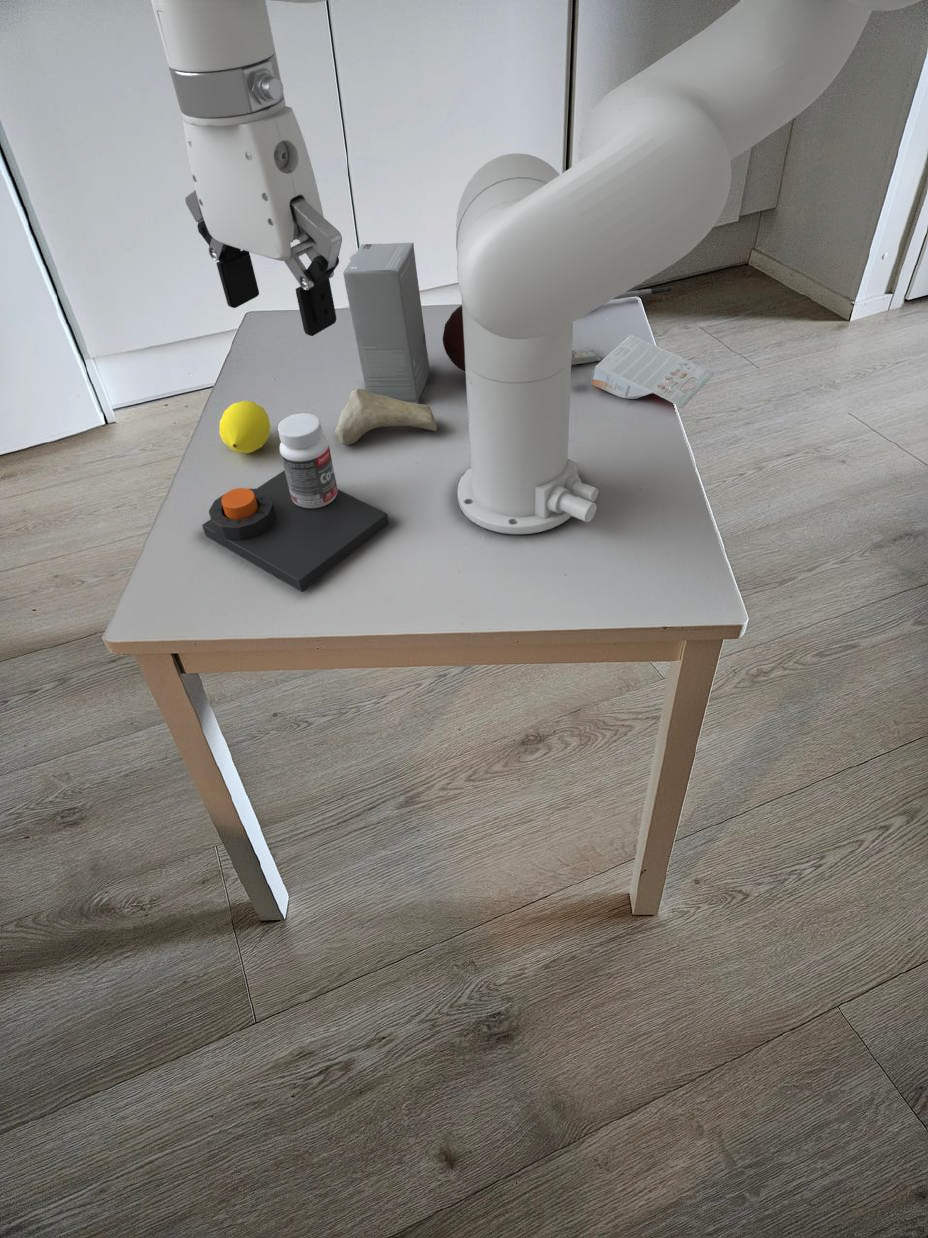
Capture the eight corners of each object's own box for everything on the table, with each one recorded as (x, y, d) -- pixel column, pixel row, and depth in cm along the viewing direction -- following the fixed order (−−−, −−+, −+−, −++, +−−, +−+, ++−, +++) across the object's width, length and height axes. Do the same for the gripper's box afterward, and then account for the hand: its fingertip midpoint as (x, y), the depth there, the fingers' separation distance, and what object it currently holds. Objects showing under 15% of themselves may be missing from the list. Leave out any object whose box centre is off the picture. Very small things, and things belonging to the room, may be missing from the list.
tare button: (264, 507, 85) (261, 495, 84) (239, 524, 83) (236, 512, 82) (243, 496, 87) (239, 483, 86) (218, 512, 85) (214, 500, 84)
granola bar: (596, 346, 107) (604, 359, 105) (594, 354, 108) (601, 367, 106) (543, 345, 106) (550, 359, 104) (541, 354, 106) (548, 368, 105)
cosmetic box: (418, 405, 102) (405, 272, 90) (359, 403, 103) (339, 270, 92) (432, 368, 108) (420, 239, 96) (376, 366, 109) (358, 238, 97)
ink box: (625, 349, 107) (707, 391, 104) (588, 383, 102) (674, 428, 99) (631, 329, 105) (716, 371, 102) (594, 362, 100) (682, 408, 97)
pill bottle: (335, 509, 86) (320, 437, 80) (288, 510, 87) (270, 439, 81) (340, 480, 90) (327, 409, 84) (295, 482, 90) (278, 411, 84)
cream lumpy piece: (338, 452, 96) (331, 414, 92) (333, 423, 100) (326, 385, 97) (438, 436, 97) (435, 398, 93) (429, 408, 101) (426, 370, 98)
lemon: (238, 429, 100) (226, 387, 96) (283, 431, 99) (273, 389, 96) (216, 465, 95) (203, 422, 92) (263, 467, 95) (251, 425, 91)
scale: (389, 524, 86) (385, 500, 84) (301, 592, 80) (295, 568, 78) (292, 476, 93) (287, 453, 91) (204, 535, 87) (196, 512, 85)
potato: (441, 360, 108) (435, 288, 102) (536, 349, 109) (536, 276, 103) (449, 396, 102) (444, 322, 96) (549, 384, 103) (551, 310, 96)
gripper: (351, 87, 60) (384, 321, 72) (194, 63, 68) (248, 276, 81) (271, 118, 56) (320, 360, 68) (115, 88, 65) (184, 308, 77)
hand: (281, 314), depth 75 cm, fingers open, 9 cm apart
